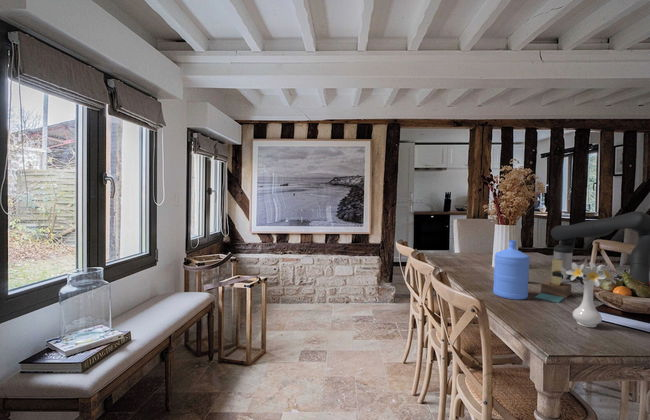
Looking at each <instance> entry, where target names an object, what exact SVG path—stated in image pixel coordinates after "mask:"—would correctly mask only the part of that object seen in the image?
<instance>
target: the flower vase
mask: <svg viewBox="0 0 650 420" xmlns="http://www.w3.org/2000/svg"><path fill="white" fill-rule="evenodd" d="M588 265H589V266H586V262H585V261H584V262H583V263H581V264H580V265H579V266H578V265H577V263H575V262H572V270H568V271H566V270H565V269H564V268H563V267H562V266H561V265H560V266H561V269H562V270H561V273H562V275H564V276H563V282H562V283H565V282H564V281H565V279H566V277H567V276H568V274H569V275H572V276H571V281H574V279H575V278H576V277H578V276H579V277H582V276H583V277H582V278H583V282H584V285H583V293H582V294H583V295H582V301H581V302H580V304H579V306H578V307H576V308H575V309H574V310H573V311H572V317H573V319H575V321H576V323H577V324H578V325H580V326H583V327H584V328H585V327H586V328H596V327H597V325H599V324H600V323H602V321H603V317H602V315H601V313H600V312H599V311H598V310H597V309H596V307H595V304H594V287H595V286H596V288H600V287H599V286H600V283H599V280H598V279H605V278H606V279H607V280H611V281H612V282H613V283H615V284H616V281H615V280H614V279H613V278H612V277H616V276H617V275H618V273H616V272H614V271H611V266H610V264H609V263H608V264H606V265H605V264H600V265H598V266H597V265H596V264H595V262H593V261H589V264H588ZM583 274H585V275H586V276H584V275H583ZM594 285H595V286H594Z"/></svg>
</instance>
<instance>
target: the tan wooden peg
mask: <svg viewBox="0 0 650 420" xmlns="http://www.w3.org/2000/svg"><path fill="white" fill-rule="evenodd" d="M560 265H561V266H562V267H563V259H555V258H554V257H553V258H552V260H551V275H550V276H551V277H550V281H551V284H552V285H558V286H562V283H563V282H562V278H561V277H556V276H552V272H560V273H561V270H562V269H561V266H560Z"/></svg>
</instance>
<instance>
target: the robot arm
mask: <svg viewBox="0 0 650 420" xmlns="http://www.w3.org/2000/svg"><path fill="white" fill-rule="evenodd" d="M623 229H624V230H625V229H626V230H627V229H629V230H632V231H634V232H636V233H637V236H638V241H637V244H636V245H635V247H634V248H633V249H632V251H631V253H630V256H629V257H630V258H629V273H628V276H629V275H630V276H632V277H633V278H634V279H636V280H638V281H640V282H642V283H646V284H649V285H650V215H649V214H647V213H645V212H642V211H639V210H638V211H635V210H634V211H630V212H627V213H624V214H619V215H615V216H609V217H606V218H598V219H592V220H587V221H582V222H578V223H574V224H567V225H563V224H561V225H556V226H554V227H553V228H552V229H551V230H550V235H551V238H553V239H554V240H556V241H557V242H559V243H558V244H557V245H555V246H554V247H553V259H554V258H555V259H563V268H564V269H565V270H566V271H568V270H573V269H572V263H573V252H574V249H575V246H576V238H598V237H605V236H606V237H607V236H608V235H610V234H611V233H613V232H614V231H616V230H623ZM551 272H552V271H551ZM583 275H584V276H586V275H585V274H583ZM552 276H556V277H561V278H562V283H571V282H572V280H571V276H572V275H569V274H568V276H567V277H566V279H565V281H564V282H563V276H564V275H562V273H560V272H552ZM582 277H583V276H582ZM582 277H579V276H578V277H576V278H575V279H574V280H573V281H577V280H579V281H580V284H581V285H583V286H584V282H583V278H582ZM621 277H622V276H621V275H619V274H617V276H616V277H614V278H619V279H621ZM598 280H599V283H601V281H602V280H603V279H598Z"/></svg>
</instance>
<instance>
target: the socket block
mask: <svg viewBox="0 0 650 420" xmlns="http://www.w3.org/2000/svg"><path fill="white" fill-rule="evenodd" d="M540 293H544V294H549V295H554V296H560V297H564V299H567V298H568V297H570V296H571V294H572V283H567V282H562V286H558V285H552V284H551V280H545V281H544V282H541V283H540Z"/></svg>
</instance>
